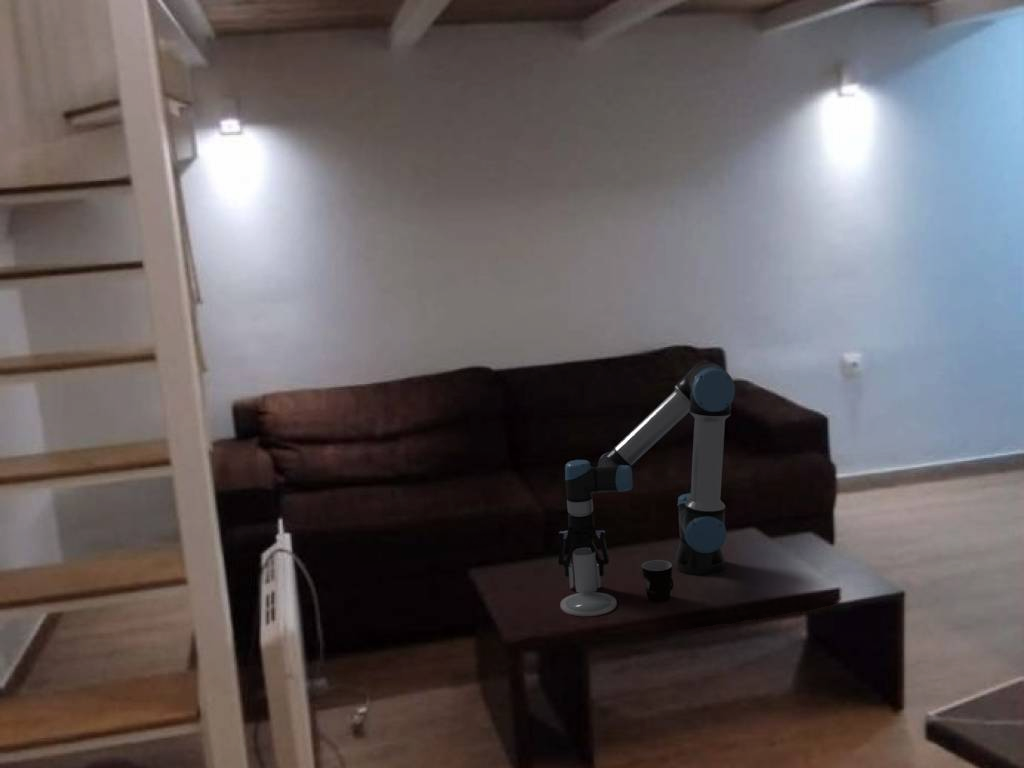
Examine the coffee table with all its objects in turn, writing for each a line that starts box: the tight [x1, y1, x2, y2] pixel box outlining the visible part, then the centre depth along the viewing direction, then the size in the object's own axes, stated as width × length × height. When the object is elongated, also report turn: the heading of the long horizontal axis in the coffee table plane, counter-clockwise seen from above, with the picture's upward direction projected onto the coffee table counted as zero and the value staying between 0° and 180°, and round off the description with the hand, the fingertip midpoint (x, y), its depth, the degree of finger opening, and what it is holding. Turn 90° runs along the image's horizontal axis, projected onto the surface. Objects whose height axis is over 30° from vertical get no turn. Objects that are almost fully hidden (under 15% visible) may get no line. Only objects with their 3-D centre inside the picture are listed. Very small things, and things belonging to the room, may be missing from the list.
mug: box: [572, 547, 598, 593], centre depth 305 cm, size 10×7×12 cm, turn 5°
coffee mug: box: [641, 559, 674, 604], centre depth 292 cm, size 12×9×10 cm
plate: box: [560, 591, 618, 617], centre depth 293 cm, size 16×16×1 cm
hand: (585, 586), depth 306 cm, fingers open, 8 cm apart
